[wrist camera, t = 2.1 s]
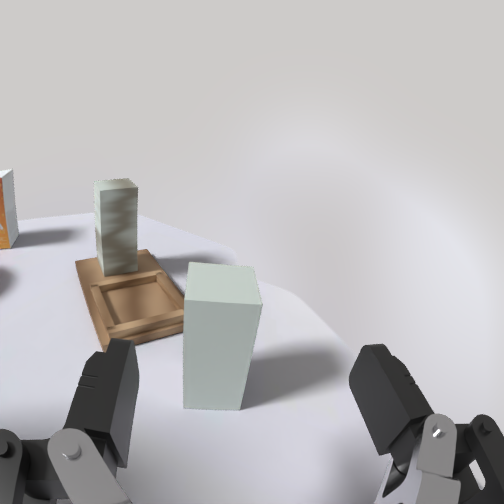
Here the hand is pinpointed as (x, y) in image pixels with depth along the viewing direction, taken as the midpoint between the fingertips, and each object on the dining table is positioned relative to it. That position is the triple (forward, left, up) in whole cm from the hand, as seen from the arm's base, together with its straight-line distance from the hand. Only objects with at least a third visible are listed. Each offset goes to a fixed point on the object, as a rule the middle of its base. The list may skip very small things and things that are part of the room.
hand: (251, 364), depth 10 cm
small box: (-41, +36, -16) cm, 57 cm away
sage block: (0, +11, -16) cm, 19 cm away
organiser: (-11, +26, -16) cm, 33 cm away
